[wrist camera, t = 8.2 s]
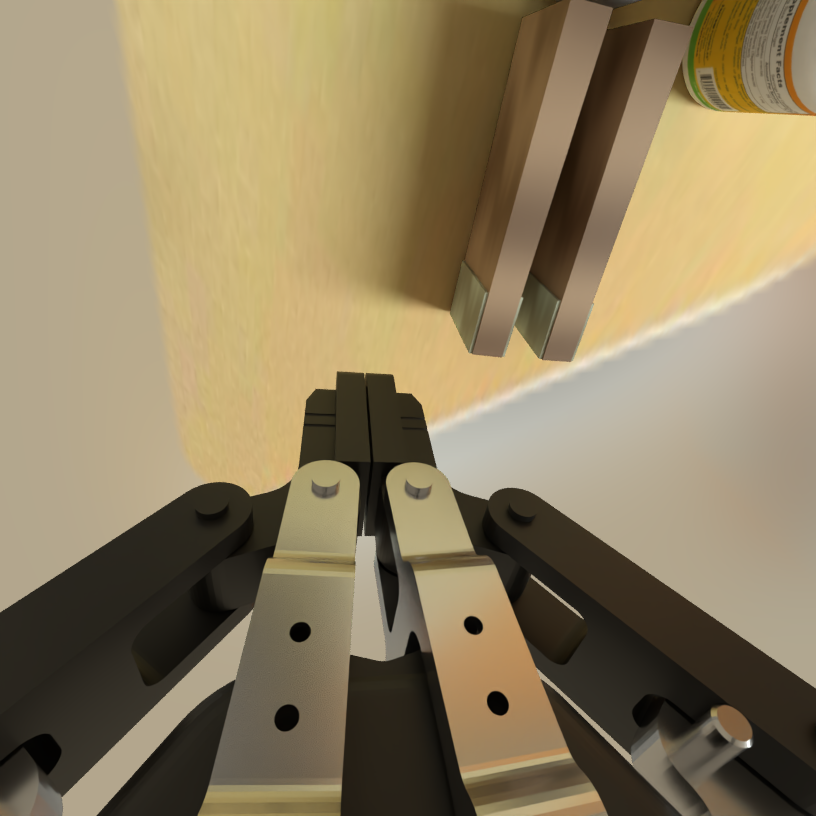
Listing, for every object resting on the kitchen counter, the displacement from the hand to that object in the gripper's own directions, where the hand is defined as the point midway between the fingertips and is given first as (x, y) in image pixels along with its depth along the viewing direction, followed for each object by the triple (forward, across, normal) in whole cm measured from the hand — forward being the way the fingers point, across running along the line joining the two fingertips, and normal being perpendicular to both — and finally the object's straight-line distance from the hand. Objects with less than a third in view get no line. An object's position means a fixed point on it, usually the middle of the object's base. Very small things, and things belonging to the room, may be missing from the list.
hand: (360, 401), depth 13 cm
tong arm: (+14, -7, -4) cm, 16 cm away
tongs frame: (+14, -9, -6) cm, 17 cm away
